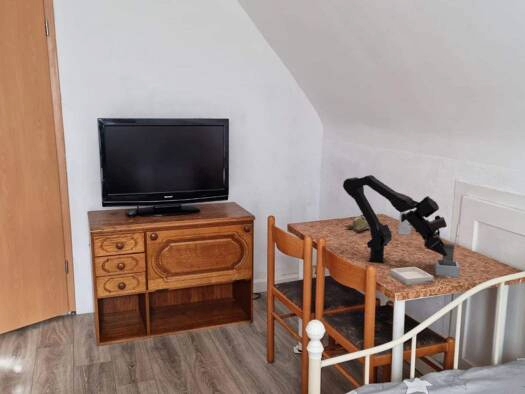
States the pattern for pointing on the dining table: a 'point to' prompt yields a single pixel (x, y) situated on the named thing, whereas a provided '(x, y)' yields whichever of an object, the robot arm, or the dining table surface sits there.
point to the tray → (411, 276)
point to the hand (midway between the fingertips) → (446, 252)
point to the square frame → (446, 269)
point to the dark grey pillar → (448, 254)
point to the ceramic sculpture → (359, 224)
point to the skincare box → (404, 226)
